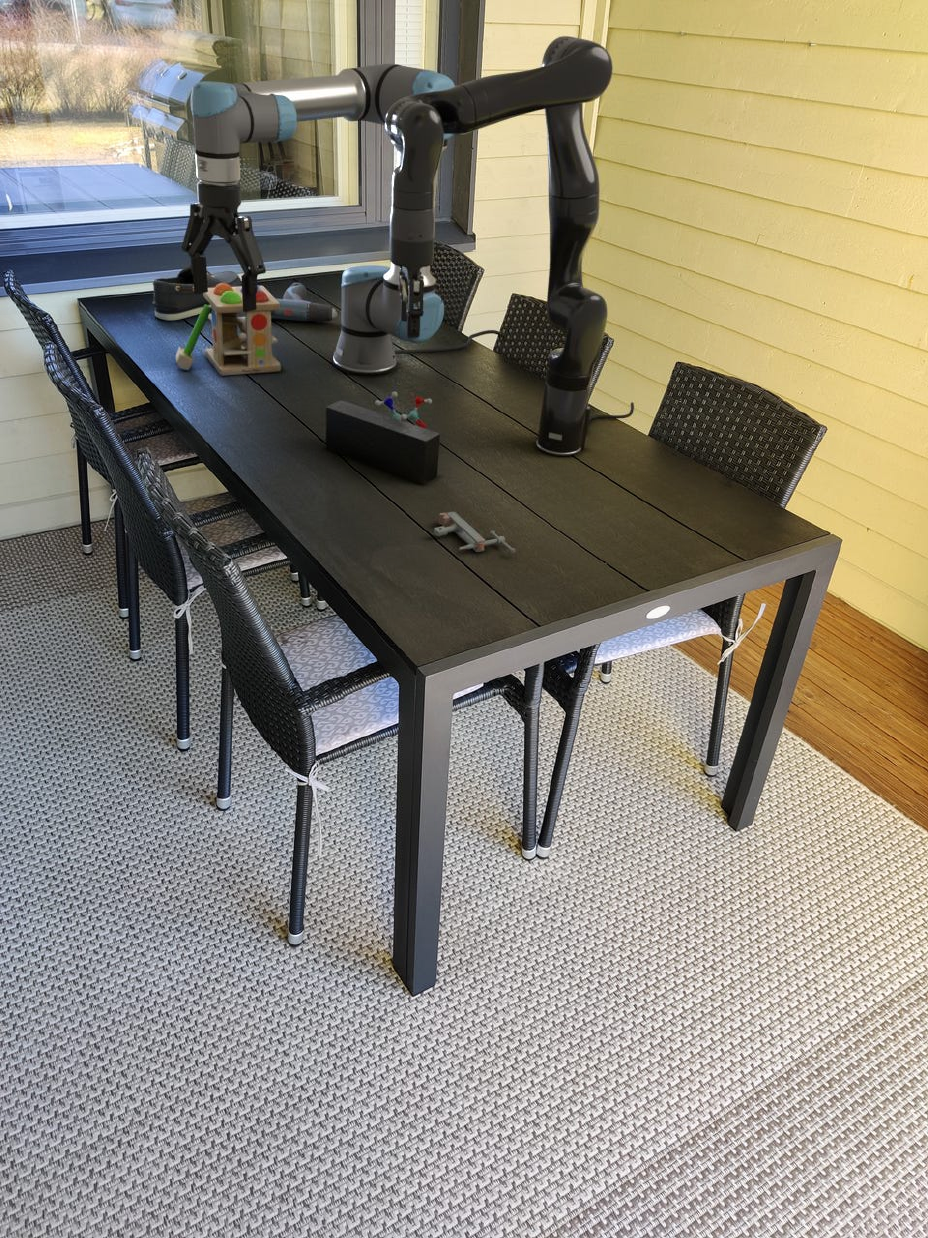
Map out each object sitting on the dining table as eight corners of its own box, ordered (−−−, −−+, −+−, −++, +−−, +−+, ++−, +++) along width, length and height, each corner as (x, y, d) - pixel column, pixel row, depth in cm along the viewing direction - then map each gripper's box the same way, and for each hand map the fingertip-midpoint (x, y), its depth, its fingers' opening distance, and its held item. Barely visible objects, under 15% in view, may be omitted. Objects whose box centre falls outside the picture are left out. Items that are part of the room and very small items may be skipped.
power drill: (344, 304, 276) (335, 327, 259) (277, 298, 275) (264, 321, 258) (344, 285, 273) (335, 306, 256) (277, 279, 272) (264, 300, 255)
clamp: (424, 515, 172) (473, 506, 177) (423, 526, 174) (472, 516, 178) (467, 556, 162) (517, 545, 167) (465, 568, 163) (516, 556, 168)
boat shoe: (260, 299, 274) (258, 261, 269) (172, 322, 251) (168, 281, 245) (227, 291, 280) (224, 253, 275) (137, 313, 256) (132, 272, 251)
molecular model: (422, 431, 199) (406, 384, 197) (382, 446, 202) (366, 399, 201) (442, 428, 209) (426, 382, 208) (403, 442, 213) (388, 397, 212)
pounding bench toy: (183, 379, 220) (176, 299, 210) (169, 357, 231) (162, 280, 221) (282, 371, 230) (280, 294, 220) (264, 350, 240) (262, 276, 230)
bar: (325, 449, 197) (325, 406, 192) (340, 441, 201) (341, 399, 195) (423, 485, 188) (426, 441, 182) (437, 476, 191) (440, 433, 186)
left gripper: (156, 170, 177) (166, 288, 189) (251, 197, 166) (255, 321, 178) (189, 166, 183) (196, 282, 194) (283, 192, 171) (285, 314, 183)
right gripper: (440, 245, 160) (436, 342, 169) (428, 223, 171) (425, 315, 180) (394, 245, 158) (393, 343, 168) (385, 222, 170) (384, 315, 179)
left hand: (225, 301), depth 186 cm, fingers open, 13 cm apart
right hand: (410, 328), depth 174 cm, fingers open, 8 cm apart
